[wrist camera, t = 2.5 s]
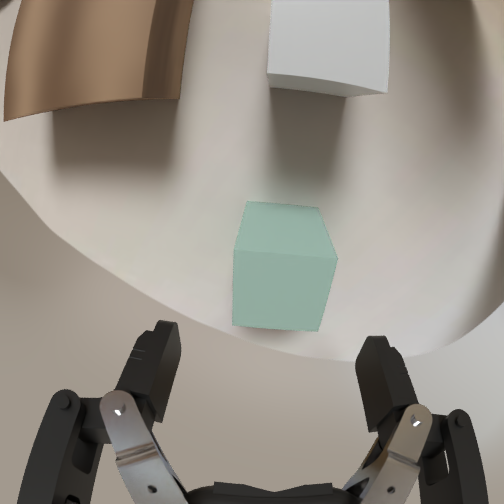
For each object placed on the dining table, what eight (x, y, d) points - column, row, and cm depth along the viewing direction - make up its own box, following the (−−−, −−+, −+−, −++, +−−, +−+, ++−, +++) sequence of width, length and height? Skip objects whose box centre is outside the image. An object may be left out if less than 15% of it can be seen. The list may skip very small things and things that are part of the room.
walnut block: (204, -40, 10) (180, -79, 5) (180, 99, 16) (141, 97, 11) (73, -9, 10) (29, -22, 5) (54, 110, 16) (3, 121, 11)
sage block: (317, 207, 19) (338, 258, 13) (307, 267, 21) (317, 331, 15) (247, 200, 19) (233, 249, 13) (244, 262, 22) (232, 325, 15)
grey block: (349, 31, 12) (388, -3, 6) (346, 97, 15) (387, 93, 9) (273, 20, 13) (273, -25, 6) (269, 87, 15) (267, 73, 9)
